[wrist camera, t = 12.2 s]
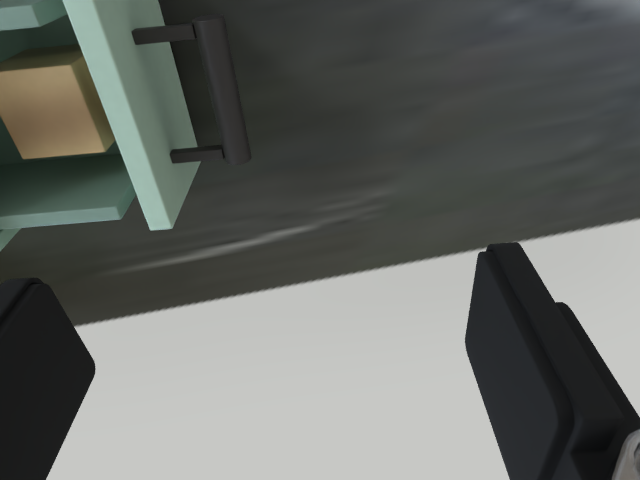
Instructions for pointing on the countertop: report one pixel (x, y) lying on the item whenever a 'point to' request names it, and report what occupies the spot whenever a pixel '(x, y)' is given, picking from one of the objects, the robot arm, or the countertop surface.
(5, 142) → the drawer
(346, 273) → the countertop surface
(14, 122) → the block
